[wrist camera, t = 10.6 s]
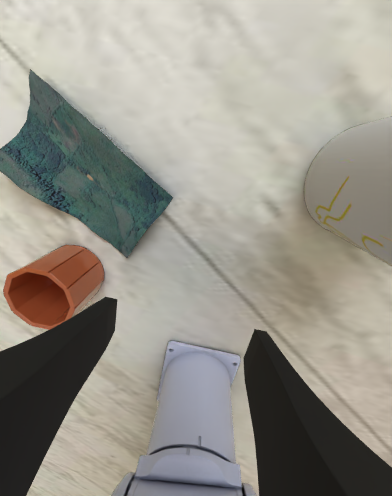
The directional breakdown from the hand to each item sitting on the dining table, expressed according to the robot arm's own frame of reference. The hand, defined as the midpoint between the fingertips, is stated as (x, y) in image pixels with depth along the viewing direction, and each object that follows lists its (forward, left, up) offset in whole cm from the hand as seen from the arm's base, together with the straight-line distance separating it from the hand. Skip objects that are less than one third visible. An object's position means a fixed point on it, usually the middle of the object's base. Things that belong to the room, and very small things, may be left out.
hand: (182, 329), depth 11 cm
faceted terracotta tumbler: (-4, +11, -9) cm, 15 cm away
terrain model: (+5, +10, -10) cm, 15 cm away
